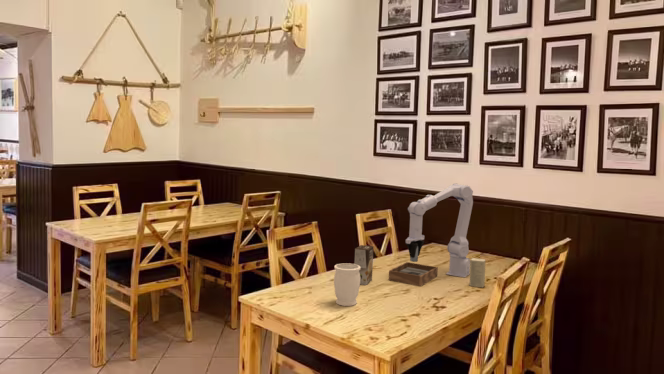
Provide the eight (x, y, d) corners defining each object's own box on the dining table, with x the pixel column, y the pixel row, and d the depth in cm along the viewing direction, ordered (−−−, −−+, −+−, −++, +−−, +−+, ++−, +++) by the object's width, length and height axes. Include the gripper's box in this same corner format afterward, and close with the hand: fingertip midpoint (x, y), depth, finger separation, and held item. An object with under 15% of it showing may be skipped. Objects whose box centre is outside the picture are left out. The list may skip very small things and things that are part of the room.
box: (406, 270, 264) (407, 262, 264) (437, 276, 256) (437, 267, 255) (388, 280, 247) (389, 270, 247) (420, 286, 239) (421, 276, 238)
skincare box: (484, 285, 243) (486, 259, 242) (482, 288, 239) (484, 261, 238) (470, 283, 246) (472, 257, 245) (468, 285, 242) (470, 259, 241)
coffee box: (367, 285, 238) (368, 250, 236) (353, 283, 240) (354, 248, 238) (372, 280, 246) (373, 246, 245) (359, 278, 248) (360, 244, 247)
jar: (350, 309, 206) (352, 271, 204) (328, 303, 211) (329, 266, 210) (364, 302, 215) (365, 265, 213) (342, 297, 220) (343, 261, 219)
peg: (412, 259, 253) (413, 245, 253) (419, 260, 251) (419, 246, 250) (408, 260, 251) (409, 246, 250) (414, 262, 248) (415, 247, 248)
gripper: (415, 231, 241) (414, 260, 242) (430, 227, 252) (429, 255, 254) (402, 229, 245) (400, 258, 247) (417, 225, 257) (416, 252, 258)
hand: (414, 256), depth 250 cm, fingers closed on peg, 4 cm apart
